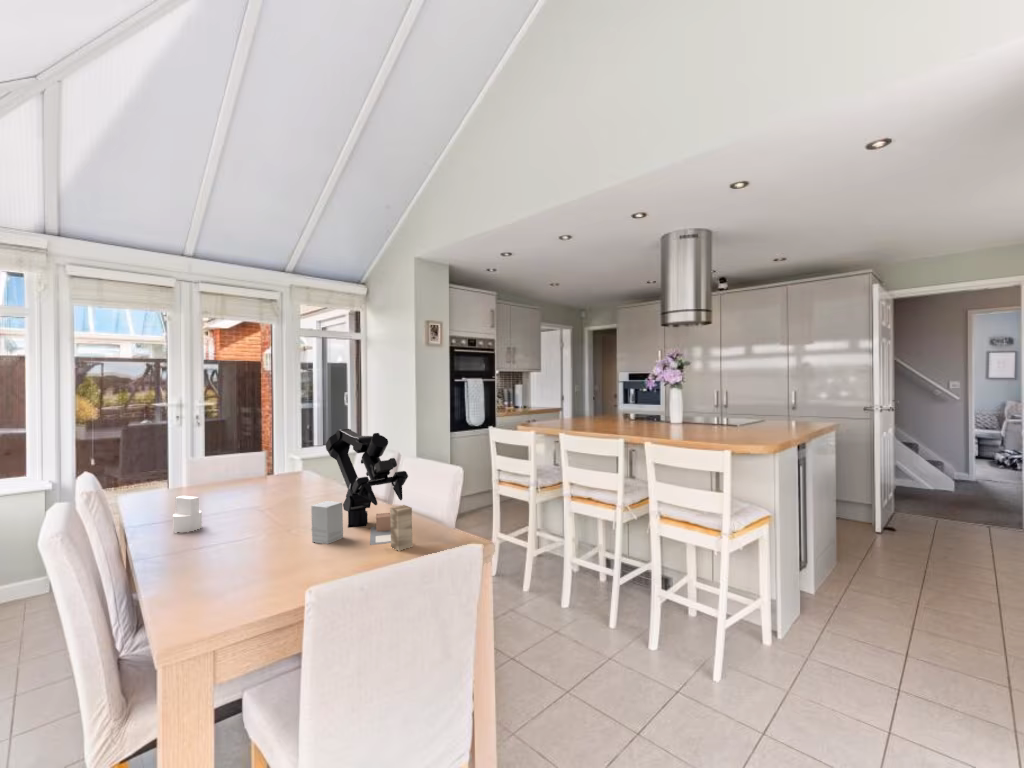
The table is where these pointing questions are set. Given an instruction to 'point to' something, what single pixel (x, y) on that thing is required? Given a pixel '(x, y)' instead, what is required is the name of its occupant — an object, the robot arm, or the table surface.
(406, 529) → the beech post
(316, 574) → the table surface
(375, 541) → the mat
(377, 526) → the terracotta block
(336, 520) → the supplement box
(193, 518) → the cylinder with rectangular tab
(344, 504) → the robot arm
